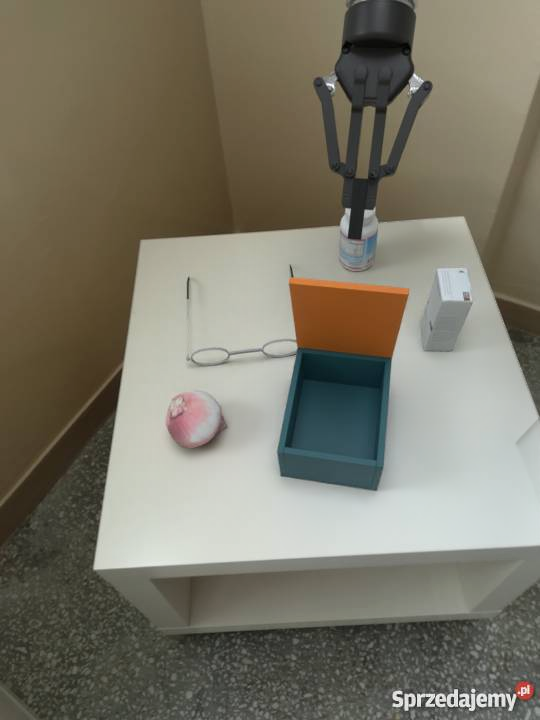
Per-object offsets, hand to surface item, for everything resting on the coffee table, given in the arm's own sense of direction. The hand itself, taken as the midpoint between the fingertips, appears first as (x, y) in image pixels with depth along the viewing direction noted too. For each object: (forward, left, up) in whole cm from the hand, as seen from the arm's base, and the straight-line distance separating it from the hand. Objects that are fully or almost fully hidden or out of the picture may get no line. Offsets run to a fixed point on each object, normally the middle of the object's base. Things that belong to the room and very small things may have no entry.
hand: (354, 238), depth 61 cm
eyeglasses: (+18, -2, -23) cm, 29 cm away
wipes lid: (-1, +7, -7) cm, 10 cm away
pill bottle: (+4, -19, -23) cm, 30 cm away
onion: (+16, +19, -23) cm, 34 cm away
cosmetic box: (-12, -7, -23) cm, 27 cm away
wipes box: (-2, +13, -23) cm, 27 cm away
